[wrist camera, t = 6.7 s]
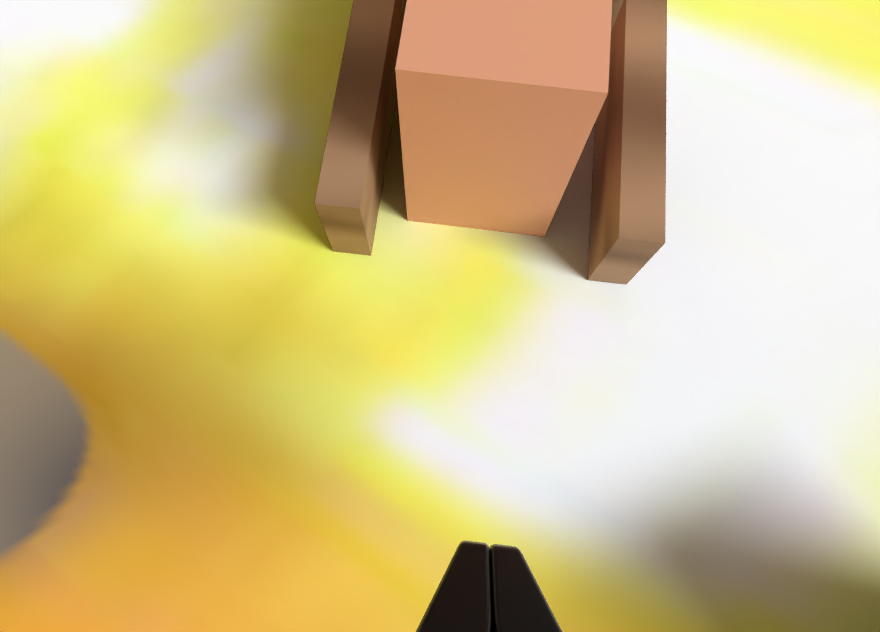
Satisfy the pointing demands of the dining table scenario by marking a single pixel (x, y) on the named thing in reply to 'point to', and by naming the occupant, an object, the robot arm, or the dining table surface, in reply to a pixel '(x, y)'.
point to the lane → (615, 142)
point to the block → (497, 106)
